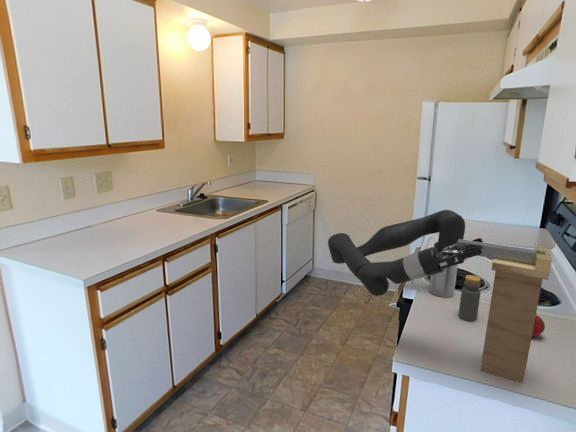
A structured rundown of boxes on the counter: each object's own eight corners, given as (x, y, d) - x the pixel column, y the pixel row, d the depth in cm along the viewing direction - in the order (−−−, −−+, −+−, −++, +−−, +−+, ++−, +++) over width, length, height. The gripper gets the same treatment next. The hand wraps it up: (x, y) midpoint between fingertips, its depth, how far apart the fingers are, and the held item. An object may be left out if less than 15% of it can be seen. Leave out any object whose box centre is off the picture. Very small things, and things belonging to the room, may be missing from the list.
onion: (544, 335, 120) (549, 313, 118) (539, 342, 116) (544, 319, 114) (524, 328, 124) (528, 306, 122) (518, 335, 120) (522, 312, 118)
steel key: (458, 245, 108) (460, 235, 107) (546, 259, 97) (548, 248, 97) (454, 256, 99) (455, 245, 98) (549, 272, 89) (551, 260, 88)
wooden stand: (478, 352, 111) (494, 251, 103) (526, 365, 105) (546, 259, 97) (476, 371, 103) (492, 262, 95) (527, 387, 97) (549, 272, 89)
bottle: (478, 322, 128) (484, 281, 124) (460, 320, 129) (465, 280, 125) (474, 314, 133) (479, 274, 130) (456, 312, 135) (461, 273, 131)
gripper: (433, 267, 115) (489, 250, 106) (423, 284, 103) (486, 266, 94) (422, 245, 115) (477, 226, 106) (411, 259, 103) (473, 239, 94)
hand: (481, 245), depth 100 cm, fingers open, 7 cm apart
